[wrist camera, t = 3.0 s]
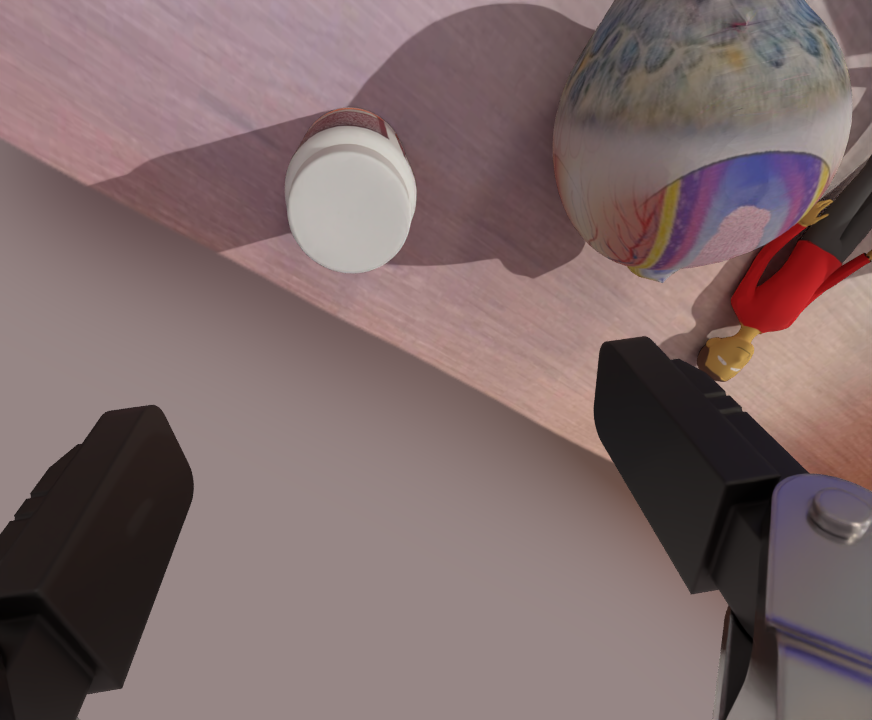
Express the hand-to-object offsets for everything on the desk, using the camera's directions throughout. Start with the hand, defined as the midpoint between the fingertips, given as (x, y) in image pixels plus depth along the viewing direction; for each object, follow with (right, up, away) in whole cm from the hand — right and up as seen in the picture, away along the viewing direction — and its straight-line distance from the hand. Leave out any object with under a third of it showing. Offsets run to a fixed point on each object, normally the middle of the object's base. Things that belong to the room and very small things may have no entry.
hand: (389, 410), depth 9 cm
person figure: (+21, +8, +19) cm, 30 cm away
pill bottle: (-3, +10, +14) cm, 18 cm away
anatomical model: (+10, +12, +15) cm, 21 cm away
